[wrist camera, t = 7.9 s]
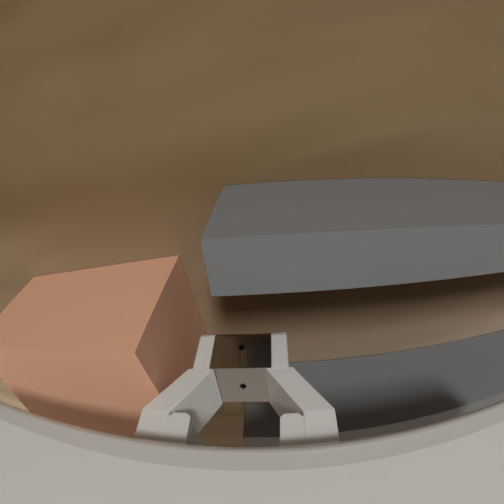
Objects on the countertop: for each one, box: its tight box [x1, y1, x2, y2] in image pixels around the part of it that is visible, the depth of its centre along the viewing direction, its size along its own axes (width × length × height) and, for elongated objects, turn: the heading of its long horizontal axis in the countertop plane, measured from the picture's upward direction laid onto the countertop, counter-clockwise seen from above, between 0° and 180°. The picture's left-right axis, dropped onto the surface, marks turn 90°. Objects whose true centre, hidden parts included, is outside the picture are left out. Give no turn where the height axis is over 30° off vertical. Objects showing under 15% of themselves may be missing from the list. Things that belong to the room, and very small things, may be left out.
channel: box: [201, 178, 504, 447], centre depth 10 cm, size 16×10×4 cm, turn 95°
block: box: [0, 255, 206, 438], centre depth 11 cm, size 8×5×5 cm, turn 100°
